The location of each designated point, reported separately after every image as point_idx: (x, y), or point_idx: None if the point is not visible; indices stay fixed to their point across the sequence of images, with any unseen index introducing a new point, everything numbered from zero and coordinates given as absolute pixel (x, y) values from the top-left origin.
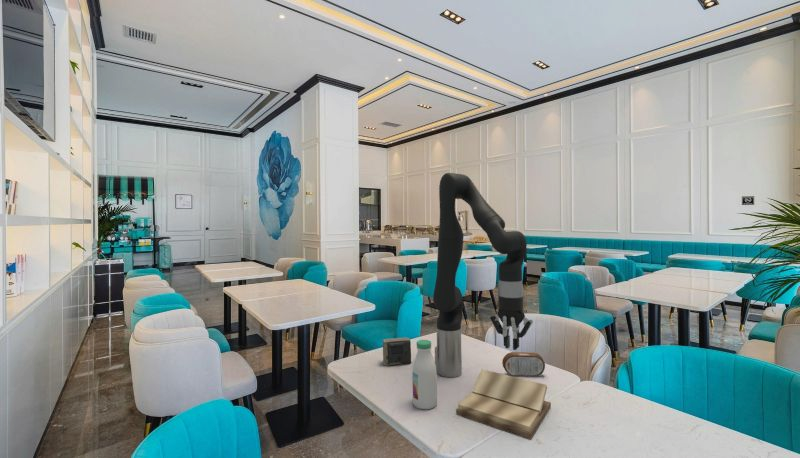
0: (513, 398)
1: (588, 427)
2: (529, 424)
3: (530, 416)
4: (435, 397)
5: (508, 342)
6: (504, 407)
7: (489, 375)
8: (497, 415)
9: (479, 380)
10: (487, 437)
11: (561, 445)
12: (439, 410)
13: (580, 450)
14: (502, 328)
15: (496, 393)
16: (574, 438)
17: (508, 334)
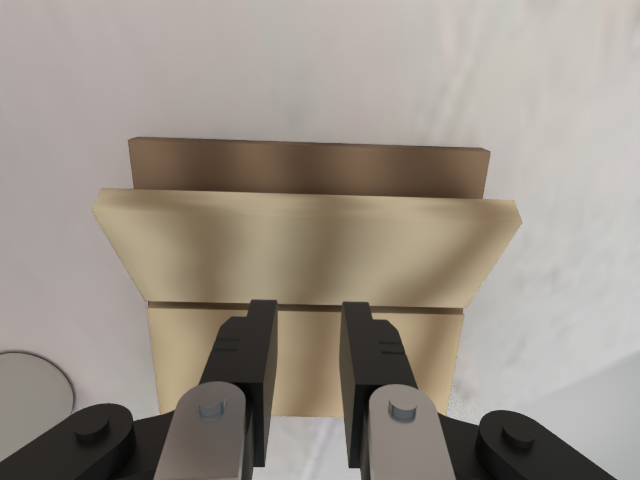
0: (347, 293)
1: (627, 230)
2: (443, 407)
3: (438, 359)
4: (53, 420)
5: (272, 370)
6: (328, 349)
7: (171, 233)
8: (324, 410)
9: (137, 261)
10: (318, 445)
11: (531, 377)
12: (102, 399)
13: (585, 372)
14: (96, 476)
15: (261, 291)
16: (572, 323)
17: (252, 426)
